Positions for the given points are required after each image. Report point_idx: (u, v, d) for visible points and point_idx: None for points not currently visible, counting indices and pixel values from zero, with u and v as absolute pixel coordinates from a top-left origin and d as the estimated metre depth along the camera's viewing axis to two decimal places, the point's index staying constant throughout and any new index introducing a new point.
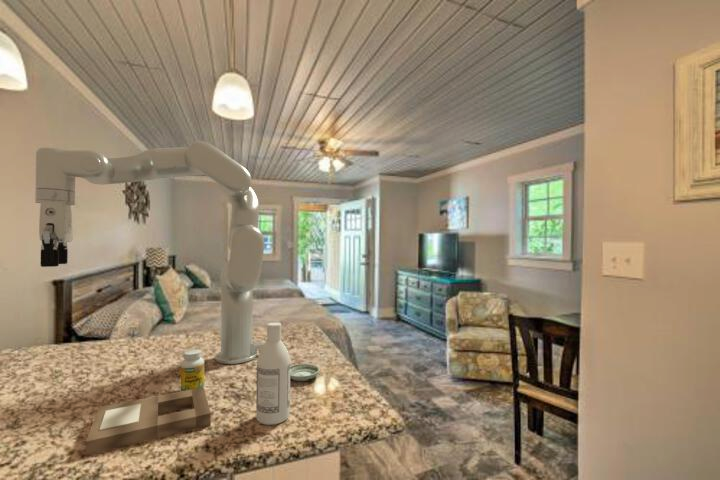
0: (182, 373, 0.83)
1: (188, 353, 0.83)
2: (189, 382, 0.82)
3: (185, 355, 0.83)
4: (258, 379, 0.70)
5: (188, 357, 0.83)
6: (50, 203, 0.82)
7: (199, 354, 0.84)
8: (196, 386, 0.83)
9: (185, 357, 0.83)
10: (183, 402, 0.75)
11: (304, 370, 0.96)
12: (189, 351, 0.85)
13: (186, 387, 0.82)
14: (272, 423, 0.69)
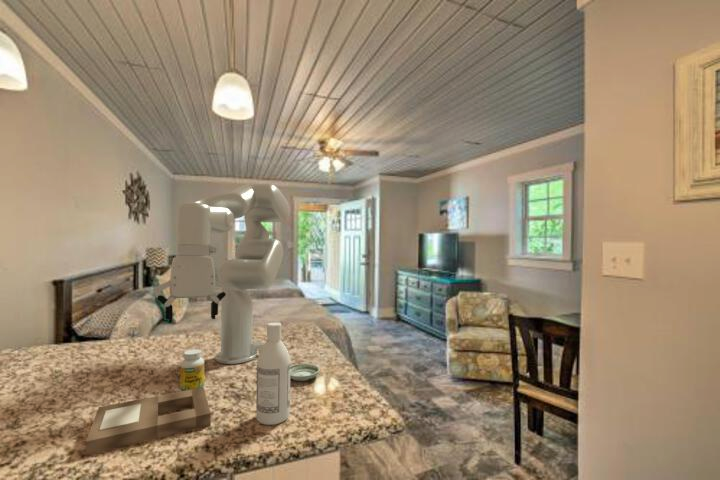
0: (182, 373, 0.83)
1: (188, 353, 0.83)
2: (189, 382, 0.82)
3: (185, 355, 0.83)
4: (258, 379, 0.70)
5: (188, 357, 0.83)
6: None
7: (199, 354, 0.84)
8: (196, 386, 0.83)
9: (185, 357, 0.83)
10: (183, 402, 0.75)
11: (304, 370, 0.96)
12: (189, 351, 0.85)
13: (186, 387, 0.82)
14: (272, 423, 0.69)
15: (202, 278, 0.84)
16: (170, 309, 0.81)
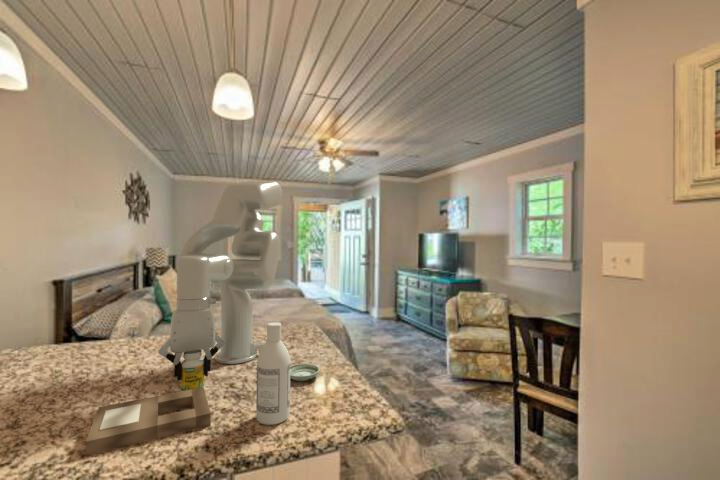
0: (182, 373, 0.83)
1: (188, 353, 0.83)
2: (189, 382, 0.82)
3: (185, 355, 0.83)
4: (258, 379, 0.70)
5: (188, 356, 0.83)
6: (211, 310, 0.87)
7: (199, 354, 0.84)
8: (196, 386, 0.83)
9: (185, 357, 0.83)
10: (183, 402, 0.75)
11: (304, 370, 0.96)
12: (189, 351, 0.85)
13: (186, 387, 0.82)
14: (272, 423, 0.69)
15: (202, 331, 0.84)
16: (179, 367, 0.82)
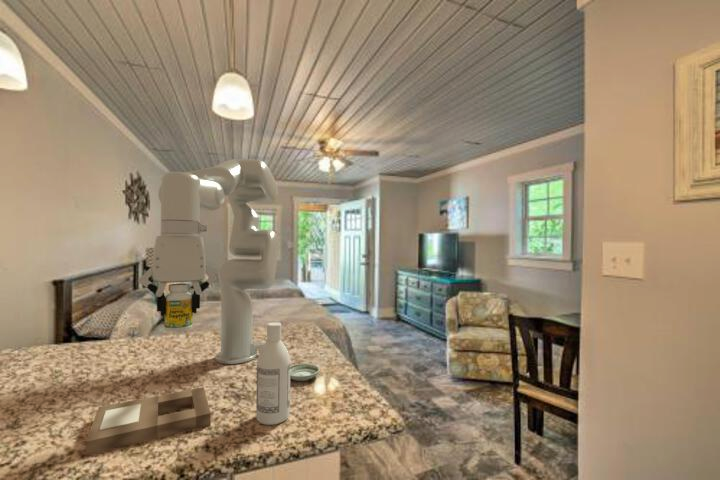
0: (166, 307, 0.71)
1: (173, 285, 0.72)
2: (174, 317, 0.70)
3: (170, 286, 0.71)
4: (258, 379, 0.70)
5: (174, 288, 0.71)
6: None
7: (187, 287, 0.73)
8: (183, 322, 0.71)
9: (170, 289, 0.71)
10: (183, 402, 0.75)
11: (304, 370, 0.96)
12: (175, 284, 0.73)
13: (170, 323, 0.70)
14: (272, 423, 0.69)
15: (190, 260, 0.72)
16: (162, 300, 0.70)
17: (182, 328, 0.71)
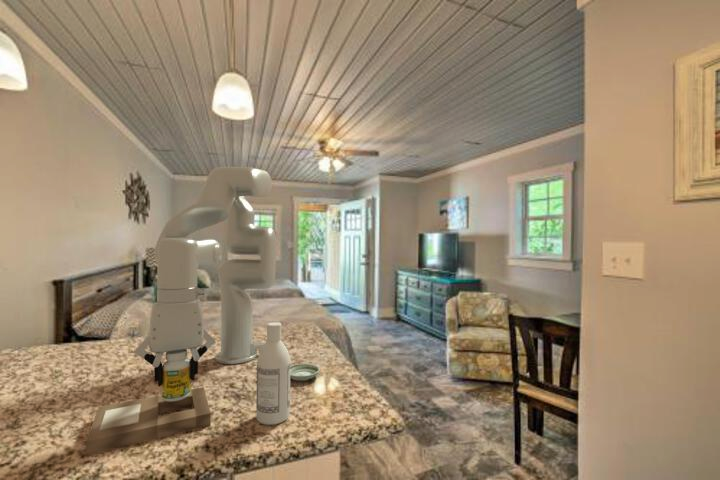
0: (164, 377, 0.69)
1: (170, 353, 0.70)
2: (172, 387, 0.69)
3: (167, 355, 0.70)
4: (258, 379, 0.70)
5: (171, 357, 0.70)
6: (199, 302, 0.74)
7: (184, 354, 0.71)
8: (181, 392, 0.70)
9: (167, 358, 0.70)
10: (183, 402, 0.75)
11: (304, 370, 0.96)
12: (173, 351, 0.72)
13: (168, 394, 0.69)
14: (272, 423, 0.69)
15: (188, 327, 0.71)
16: (159, 370, 0.69)
17: (180, 398, 0.70)
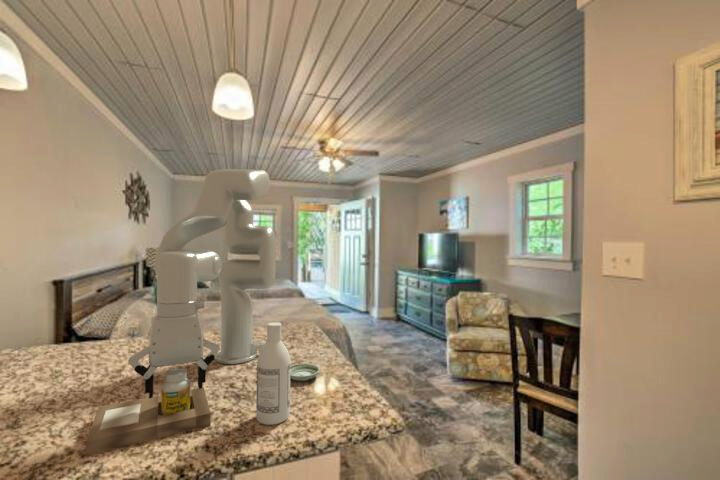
0: (163, 398, 0.69)
1: (170, 374, 0.70)
2: (172, 409, 0.69)
3: (167, 377, 0.70)
4: (258, 379, 0.70)
5: (171, 379, 0.70)
6: None
7: (184, 375, 0.71)
8: None
9: (167, 379, 0.70)
10: None
11: (304, 370, 0.96)
12: (172, 371, 0.72)
13: None
14: (272, 423, 0.69)
15: (187, 341, 0.71)
16: (150, 382, 0.68)
17: None
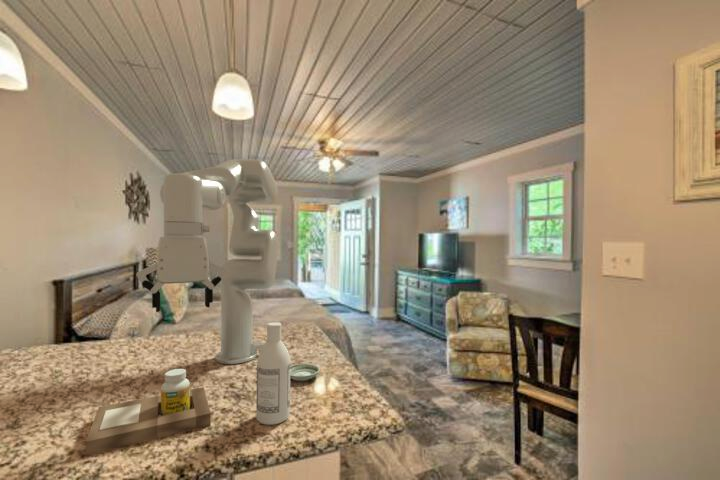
0: (163, 398, 0.69)
1: (169, 374, 0.70)
2: (171, 409, 0.69)
3: (166, 377, 0.70)
4: (258, 379, 0.70)
5: (170, 378, 0.70)
6: None
7: (183, 375, 0.71)
8: None
9: (166, 379, 0.70)
10: None
11: (304, 370, 0.96)
12: (172, 371, 0.72)
13: None
14: (272, 423, 0.69)
15: (194, 260, 0.73)
16: (157, 296, 0.70)
17: None
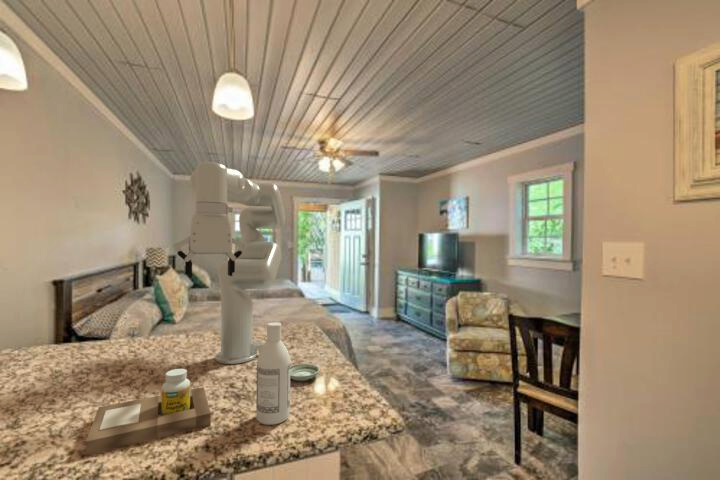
0: (163, 398, 0.69)
1: (170, 374, 0.70)
2: (171, 409, 0.69)
3: (167, 376, 0.70)
4: (258, 379, 0.70)
5: (171, 378, 0.70)
6: (228, 218, 0.90)
7: (184, 375, 0.71)
8: None
9: (167, 379, 0.70)
10: None
11: (304, 370, 0.96)
12: (172, 371, 0.72)
13: None
14: (272, 423, 0.69)
15: (220, 235, 0.87)
16: (190, 264, 0.84)
17: None
